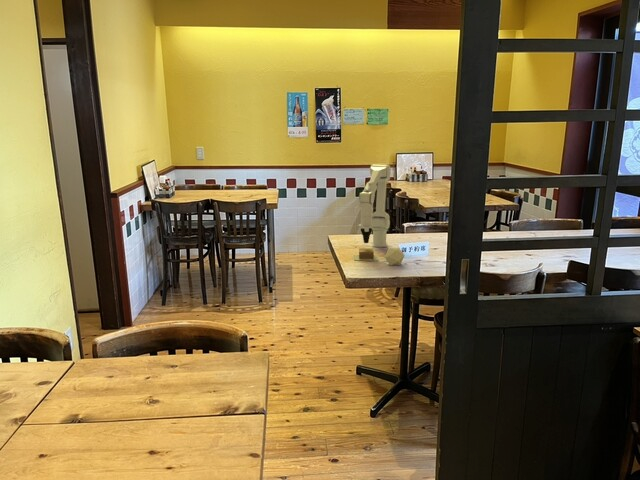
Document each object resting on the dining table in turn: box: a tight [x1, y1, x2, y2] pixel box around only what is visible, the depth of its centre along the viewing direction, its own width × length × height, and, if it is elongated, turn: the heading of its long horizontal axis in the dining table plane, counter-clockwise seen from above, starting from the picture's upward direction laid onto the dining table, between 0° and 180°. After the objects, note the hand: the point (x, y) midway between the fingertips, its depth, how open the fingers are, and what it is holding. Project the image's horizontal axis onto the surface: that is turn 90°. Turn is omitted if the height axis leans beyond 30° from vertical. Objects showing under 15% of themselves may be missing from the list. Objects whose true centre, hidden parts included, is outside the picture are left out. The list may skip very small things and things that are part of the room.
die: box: [384, 247, 405, 266], centre depth 220 cm, size 8×9×10 cm
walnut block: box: [358, 247, 375, 259], centre depth 232 cm, size 4×7×8 cm
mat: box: [353, 254, 380, 262], centre depth 231 cm, size 9×12×1 cm
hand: (366, 242), depth 234 cm, fingers closed
